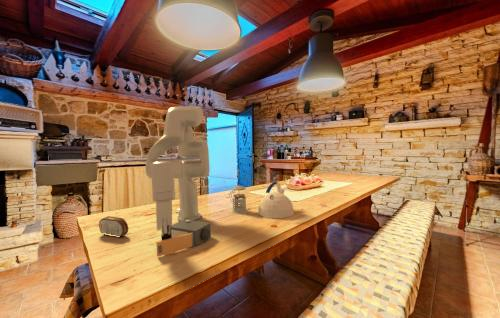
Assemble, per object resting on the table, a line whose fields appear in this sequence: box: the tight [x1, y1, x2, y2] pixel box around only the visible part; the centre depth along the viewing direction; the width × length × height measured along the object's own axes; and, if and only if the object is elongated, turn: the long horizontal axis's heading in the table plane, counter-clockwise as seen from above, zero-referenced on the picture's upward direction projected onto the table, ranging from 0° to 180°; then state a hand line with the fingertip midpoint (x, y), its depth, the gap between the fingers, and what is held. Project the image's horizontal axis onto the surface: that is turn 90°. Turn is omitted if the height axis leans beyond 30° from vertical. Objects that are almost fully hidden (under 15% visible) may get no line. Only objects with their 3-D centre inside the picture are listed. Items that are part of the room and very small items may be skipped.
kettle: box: [257, 181, 295, 220], centre depth 120 cm, size 20×21×18 cm
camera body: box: [170, 219, 212, 247], centre depth 88 cm, size 15×10×7 cm, turn 66°
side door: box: [155, 233, 194, 258], centre depth 77 cm, size 13×2×5 cm, turn 125°
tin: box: [98, 216, 129, 237], centre depth 94 cm, size 15×3×8 cm, turn 71°
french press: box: [228, 169, 249, 215], centre depth 125 cm, size 10×12×25 cm
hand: (166, 244), depth 77 cm, fingers closed
